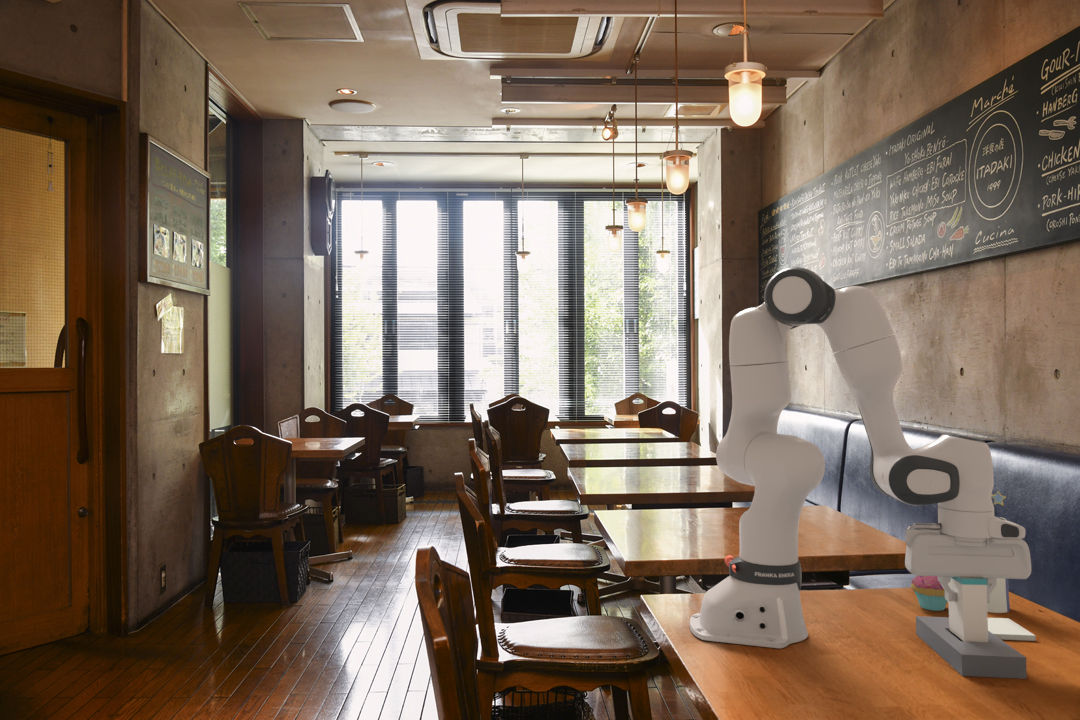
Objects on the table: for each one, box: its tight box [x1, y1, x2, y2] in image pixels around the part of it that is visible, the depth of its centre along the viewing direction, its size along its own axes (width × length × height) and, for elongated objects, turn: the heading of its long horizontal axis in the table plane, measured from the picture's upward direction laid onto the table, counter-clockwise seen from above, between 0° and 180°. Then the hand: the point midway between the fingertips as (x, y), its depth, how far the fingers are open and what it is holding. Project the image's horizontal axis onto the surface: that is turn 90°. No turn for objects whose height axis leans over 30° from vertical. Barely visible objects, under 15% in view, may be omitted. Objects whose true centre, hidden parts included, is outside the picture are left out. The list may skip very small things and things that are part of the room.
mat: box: [988, 617, 1037, 642], centre depth 143 cm, size 10×10×1 cm
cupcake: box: [910, 575, 948, 612], centre depth 158 cm, size 9×8×12 cm
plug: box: [947, 577, 989, 642], centre depth 130 cm, size 4×6×11 cm
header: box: [915, 615, 1028, 680], centre depth 130 cm, size 10×20×4 cm, turn 172°
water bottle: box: [987, 490, 1011, 614], centre depth 158 cm, size 8×8×25 cm
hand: (967, 601), depth 131 cm, fingers closed on plug, 4 cm apart
